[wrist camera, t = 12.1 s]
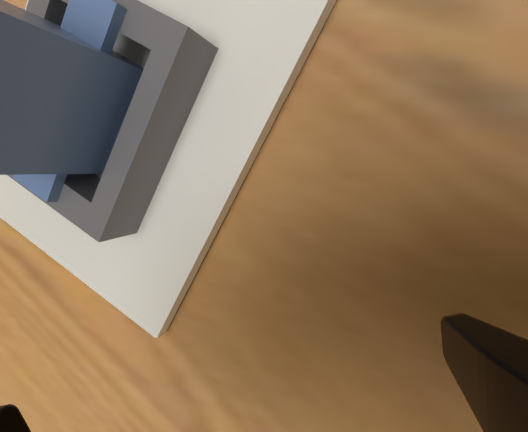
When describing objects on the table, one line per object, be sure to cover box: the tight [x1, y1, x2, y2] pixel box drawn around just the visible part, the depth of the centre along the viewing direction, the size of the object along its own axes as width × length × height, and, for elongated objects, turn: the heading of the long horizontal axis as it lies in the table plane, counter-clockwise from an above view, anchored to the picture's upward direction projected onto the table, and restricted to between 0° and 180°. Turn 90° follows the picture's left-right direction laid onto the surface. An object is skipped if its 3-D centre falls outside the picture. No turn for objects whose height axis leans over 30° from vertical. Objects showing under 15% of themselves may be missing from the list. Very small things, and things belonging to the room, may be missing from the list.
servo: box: [0, 0, 144, 202], centre depth 15 cm, size 10×4×10 cm, turn 151°
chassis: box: [0, 0, 337, 339], centre depth 18 cm, size 20×16×4 cm
